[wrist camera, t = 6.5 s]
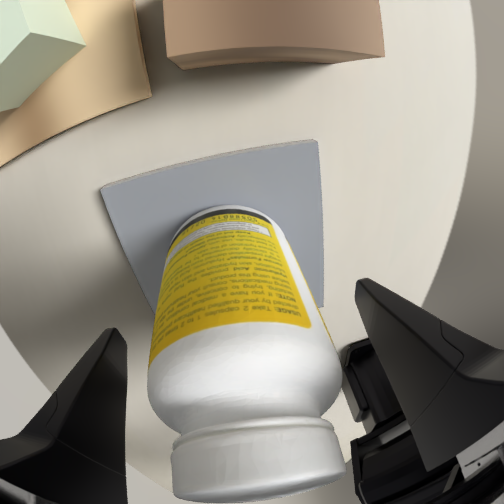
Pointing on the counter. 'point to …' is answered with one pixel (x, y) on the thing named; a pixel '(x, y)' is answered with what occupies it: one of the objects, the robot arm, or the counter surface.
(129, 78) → the cork coaster
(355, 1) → the walnut block
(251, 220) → the supplement bottle
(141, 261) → the slate coaster
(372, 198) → the counter surface
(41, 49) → the sage cube
